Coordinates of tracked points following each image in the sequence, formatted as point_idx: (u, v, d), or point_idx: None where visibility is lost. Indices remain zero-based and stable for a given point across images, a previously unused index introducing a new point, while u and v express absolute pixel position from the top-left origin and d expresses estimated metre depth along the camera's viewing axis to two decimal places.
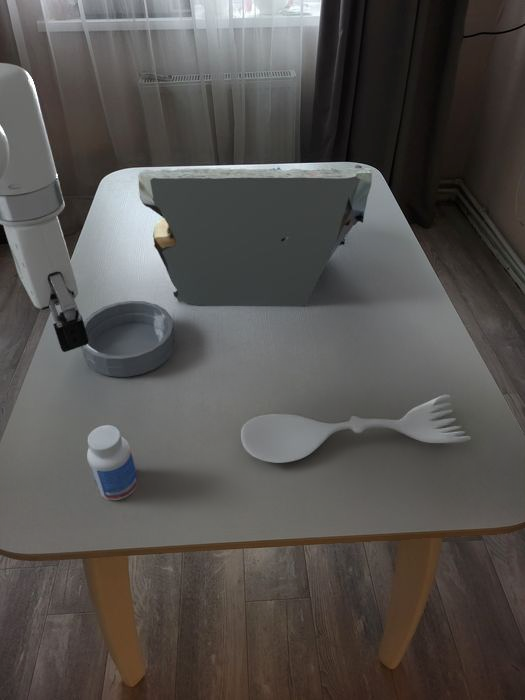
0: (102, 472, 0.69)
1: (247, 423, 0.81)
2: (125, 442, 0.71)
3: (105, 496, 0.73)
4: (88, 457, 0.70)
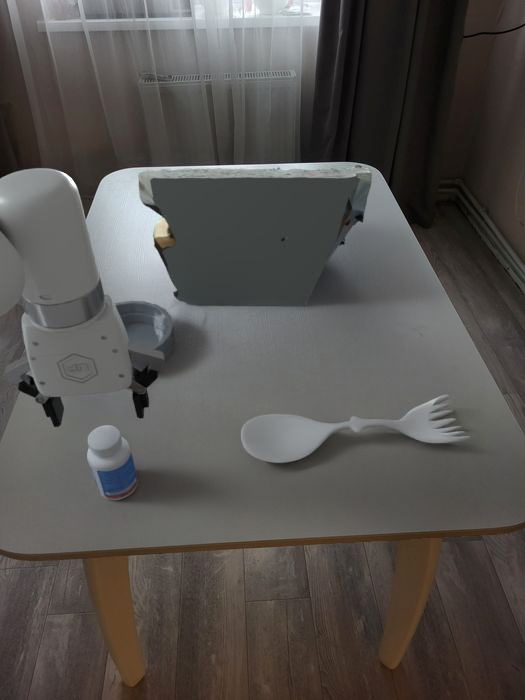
0: (102, 472, 0.69)
1: (247, 423, 0.81)
2: (125, 442, 0.71)
3: (105, 496, 0.73)
4: (88, 457, 0.70)
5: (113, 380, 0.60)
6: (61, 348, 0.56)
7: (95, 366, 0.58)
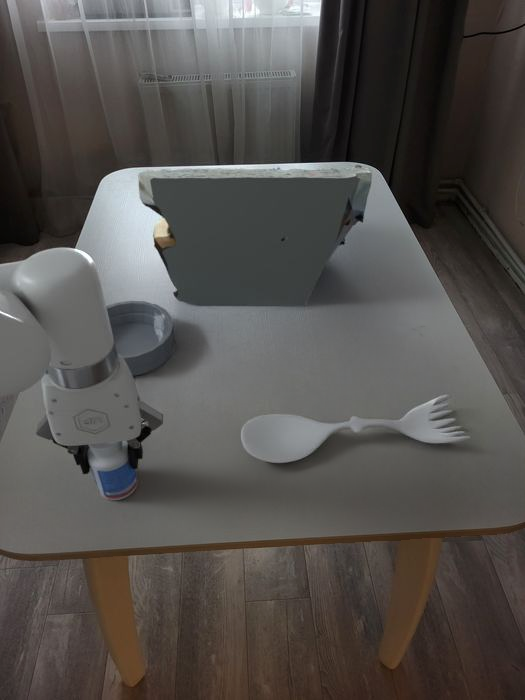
0: (102, 472, 0.69)
1: (247, 423, 0.81)
2: (125, 442, 0.71)
3: (105, 496, 0.73)
4: (88, 457, 0.70)
5: (124, 431, 0.65)
6: (77, 404, 0.61)
7: (108, 419, 0.63)
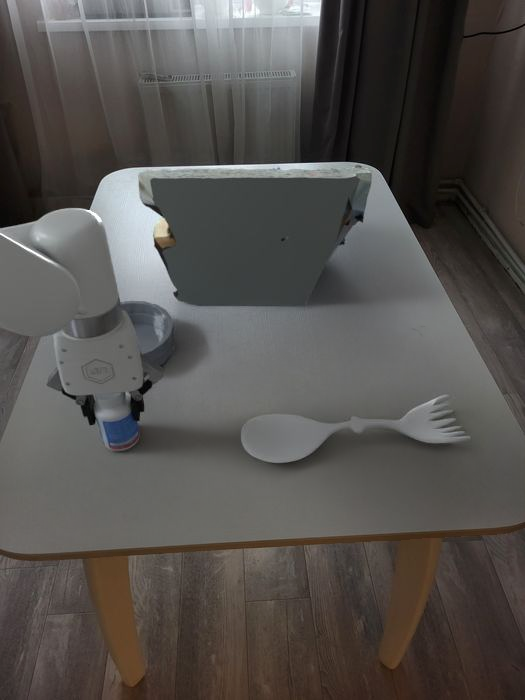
0: (107, 423, 0.75)
1: (247, 423, 0.80)
2: (128, 396, 0.77)
3: (109, 447, 0.79)
4: (94, 409, 0.76)
5: (127, 382, 0.71)
6: (85, 354, 0.67)
7: (113, 370, 0.69)
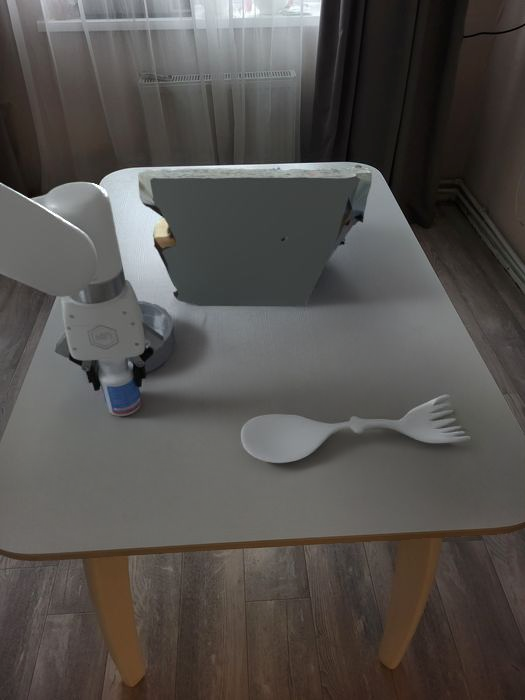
0: (110, 388, 0.80)
1: (247, 423, 0.80)
2: (131, 364, 0.82)
3: (113, 412, 0.84)
4: (99, 375, 0.81)
5: (130, 347, 0.76)
6: (91, 320, 0.72)
7: (116, 335, 0.74)
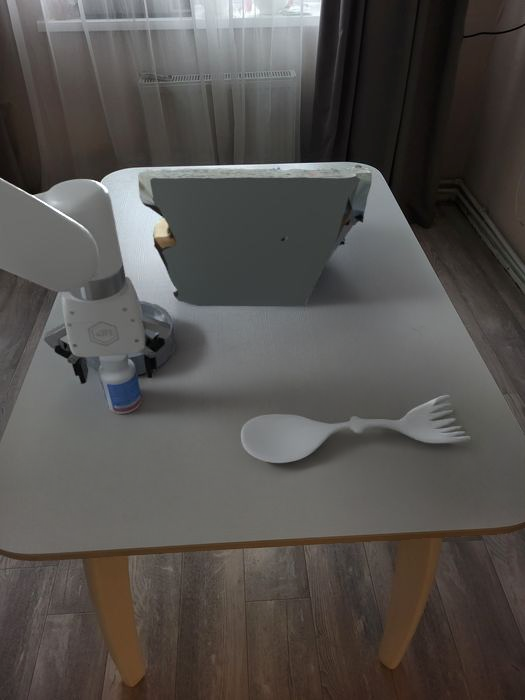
0: (111, 386, 0.81)
1: (247, 423, 0.80)
2: (131, 362, 0.83)
3: (113, 410, 0.85)
4: (99, 373, 0.81)
5: (130, 344, 0.76)
6: (91, 317, 0.72)
7: (117, 332, 0.75)
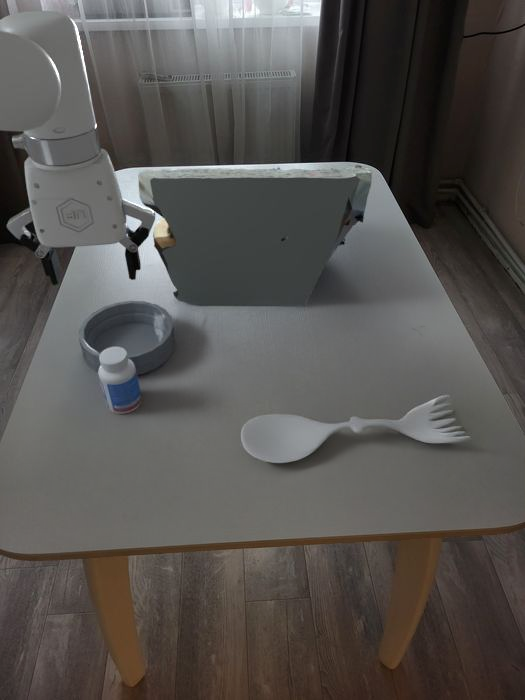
0: (111, 386, 0.81)
1: (247, 423, 0.80)
2: (131, 362, 0.83)
3: (113, 410, 0.85)
4: (99, 373, 0.81)
5: (107, 231, 0.65)
6: (60, 191, 0.61)
7: (91, 214, 0.63)
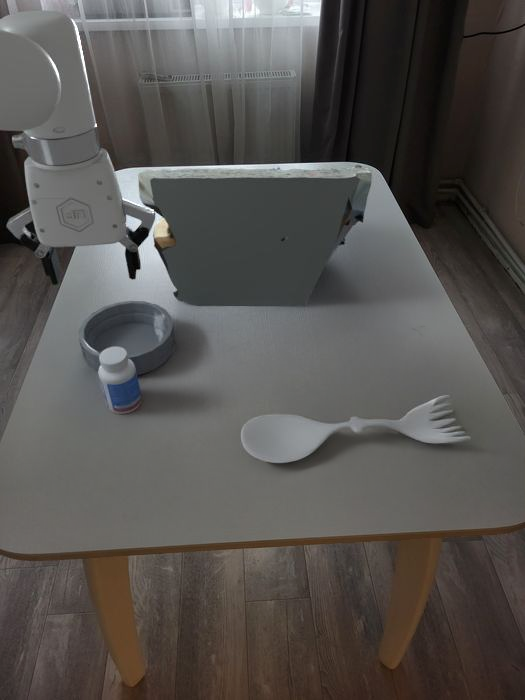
0: (111, 386, 0.81)
1: (247, 423, 0.80)
2: (131, 362, 0.83)
3: (113, 410, 0.85)
4: (99, 373, 0.81)
5: (107, 230, 0.65)
6: (60, 191, 0.61)
7: (91, 213, 0.63)
